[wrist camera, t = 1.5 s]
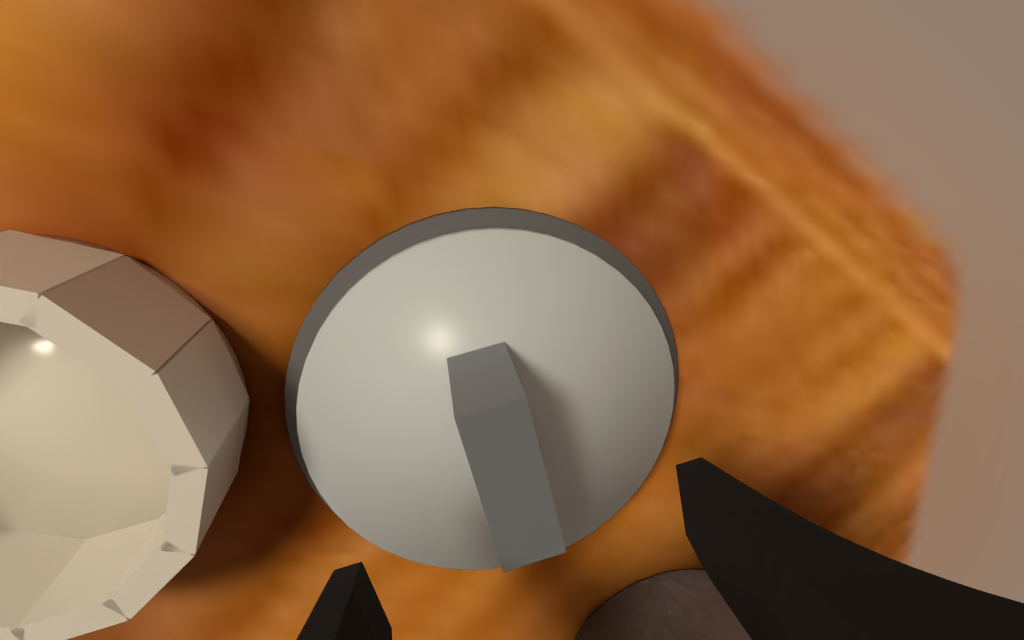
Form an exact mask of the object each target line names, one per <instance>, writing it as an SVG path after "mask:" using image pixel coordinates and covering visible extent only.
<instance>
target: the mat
mask: <svg viewBox="0 0 1024 640" xmlns="http://www.w3.org/2000/svg"><path fill="white" fill-rule="evenodd" d="M489 226H502V227H518V228H525V229H530V230H535V231H540V232H545V233H549V234H552V235H554V236H557V237H560V238H563V239H566V240H569V241H571V242H573V243H575V244H577V245H579V246H581V247H583V248H585V249H587V250H589V251H591V252H592V253H594V254H595V255H596V256H598V257H599V258H601V259H602V260H603V261H605V262H606V263H608V264H609V265H611V266H612V267H613V268H615V269H616V270H617V271H619V272H620V273H621V274H622V275H623V276H624V277H625V278H626V279H627V280H628V281H629V282H630V283H631V284H632V285H633V286H634V287H636V289H637V290H638V291H639V292H640V294H641V295H642V296H643V298H644V299H645V300H646V301H647V303H648V304H649V305H650V307H651V309H652V310H653V312H654V314H655V316H656V318H657V319H658V321H659V323H660V325H661V327H662V330H663V332H664V335H665V338H666V340H667V343H668V346H669V350H670V355H671V359H672V364H673V372H674V387H675V388H674V402H673V411H674V407H675V402H676V397H677V384H678V365H677V352H676V347H675V342H674V338H673V333H672V329H671V327H670V324H669V321H668V318H667V316H666V313H665V310H664V308H663V306H662V305H661V303H660V301H659V299H658V297H657V295H656V294H655V292H654V290H653V288H652V287H651V286H650V284H649V283H648V282H647V281H646V279H645V278H644V277H643V275H642V274H641V273H640V271H639V270H638V269H637V268H636V267H635V266H634V265H633V264H632V263H631V262H630V261H629V260H628V259H627V258H626V257H625V256H624V255H623V254H622V253H620V252H619V251H618V250H616V249H615V248H614V247H612V246H611V245H609V244H608V243H607V242H605V241H604V240H602V239H601V238H600V237H598V236H596V235H595V234H593V233H591V232H589V231H587V230H585V229H583V228H581V227H579V226H577V225H576V224H574V223H571V222H568V221H565V220H562V219H560V218H557V217H554V216H551V215H549V214H544V213H539V212H534V211H529V210H525V209H516V208H502V207H485V208H469V209H461V210H456V211H451V212H446V213H441V214H436V215H434V216H431V217H428V218H425V219H422V220H419V221H416V222H413V223H410V224H408V225H406V226H404V227H402V228H400V229H398V230H396V231H394V232H392V233H390V234H388V235H386V236H384V237H382V238H381V239H379V240H378V241H376V242H375V243H373V244H372V245H370V246H369V247H367V248H366V249H364V250H363V251H361V252H360V253H359V254H358V255H357V256H355V257H354V258H353V259H352V260H351V261H350V262H349V263H348V264H347V265H345V266H344V267H343V268H342V269H341V270H340V271H339V272H338V273H337V274H336V275H335V277H334V278H333V279H332V280H331V281H330V282H329V284H328V285H327V286H326V287H325V288H324V290H323V291H322V292H321V293H320V295H319V297H318V298H317V300H316V301H315V303H314V305H313V306H312V308H311V309H310V311H309V313H308V314H307V316H306V318H305V319H304V322H303V324H302V326H301V329H300V331H299V333H298V335H297V338H296V340H295V342H294V345H293V349H292V352H291V356H290V360H289V364H288V368H287V374H286V384H285V393H284V397H285V417H286V423H287V428H288V433H289V438H290V442H291V445H292V448H293V450H294V453H295V456H296V459H297V461H298V464H299V466H300V468H301V469H302V471H303V473H304V475H305V477H306V478H307V480H308V482H309V484H310V485H311V487H312V488H313V489H314V491H315V492H316V493H317V494H318V496H319V497H320V498H321V500H322V501H323V502H324V503H325V504H326V505H327V506H328V507H329V508H330V506H329V505H328V504H327V502H326V501H325V500H324V498H323V497H322V496H321V494H320V493H319V491H318V489H317V487H316V486H315V484H314V482H313V480H312V478H311V476H310V475H309V472H308V469H307V467H306V464H305V461H304V458H303V456H302V453H301V448H300V443H299V438H298V433H297V414H296V406H297V397H298V388H299V382H300V378H301V375H302V371H303V368H304V364H305V360H306V358H307V356H308V354H309V351H310V349H311V347H312V345H313V342H314V340H315V338H316V336H317V333H318V331H319V329H320V327H321V326H322V324H323V322H324V321H325V319H326V318H327V316H328V314H329V313H330V311H331V310H332V308H333V307H334V305H335V304H336V303H337V302H338V301H339V299H340V298H341V297H342V296H343V295H344V293H345V292H346V291H347V290H348V289H349V288H350V286H352V285H353V284H354V283H355V282H356V281H357V280H358V279H359V278H361V277H362V276H363V275H364V274H365V273H366V272H367V271H368V270H370V269H371V268H372V267H374V266H375V265H377V264H378V263H380V262H381V261H383V260H384V259H386V258H387V257H389V256H390V255H392V254H393V253H395V252H397V251H399V250H401V249H403V248H405V247H407V246H409V245H411V244H413V243H415V242H418V241H421V240H424V239H427V238H430V237H433V236H435V235H438V234H441V233H446V232H451V231H456V230H461V229H465V228H474V227H489ZM673 411H672V416H673ZM672 416H671V420H672ZM670 423H671V421H670ZM330 509H331V508H330ZM331 510H332V509H331ZM332 511H333V510H332ZM333 512H334V511H333ZM334 513H335V512H334ZM335 514H336V513H335ZM336 515H337V514H336ZM337 516H338V515H337ZM338 517H339V516H338ZM339 518H340V517H339ZM340 519H341V518H340ZM341 520H342V519H341ZM342 521H343V520H342Z"/></svg>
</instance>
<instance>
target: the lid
mask: <svg viewBox="0 0 1024 640" xmlns="http://www.w3.org/2000/svg"><path fill="white" fill-rule="evenodd" d="M674 388H675V387H674V372H673V364H672V359H671V355H670V350H669V346H668V343H667V340H666V338H665V335H664V332H663V330H662V327H661V325H660V323H659V321H658V319H657V318H656V316H655V314H654V312H653V310H652V309H651V307H650V305H649V304H648V303H647V301H646V300H645V299H644V298H643V296H642V295H641V294H640V292H639V291H638V290H637V289H636V287H634V286H633V285H632V284H631V283H630V282H629V281H628V280H627V279H626V278H625V277H624V276H623V275H622V274H621V273H620V272H619V271H617V270H616V269H615V268H613V267H612V266H611V265H609V264H608V263H606V262H605V261H603V260H602V259H601V258H599V257H598V256H596V255H595V254H594V253H592V252H591V251H589V250H587V249H585V248H583V247H581V246H579V245H577V244H575V243H573V242H571V241H569V240H566V239H563V238H560V237H557V236H554V235H552V234H549V233H545V232H540V231H535V230H530V229H525V228H518V227H502V226H489V227H474V228H465V229H461V230H456V231H451V232H446V233H441V234H438V235H435V236H433V237H430V238H427V239H424V240H421V241H418V242H415V243H413V244H411V245H409V246H407V247H405V248H403V249H401V250H399V251H397V252H395V253H393V254H392V255H390V256H389V257H387V258H386V259H384V260H383V261H381V262H380V263H378V264H377V265H375V266H374V267H372V268H371V269H370V270H368V271H367V272H366V273H365V274H364V275H363V276H362V277H361V278H359V279H358V280H357V281H356V282H355V283H354V284H353V285H352V286H350V288H349V289H348V290H347V291H346V292H345V293H344V295H343V296H342V297H341V298H340V299H339V301H338V302H337V303H336V304H335V305H334V307H333V308H332V310H331V311H330V313H329V314H328V316H327V318H326V319H325V321H324V322H323V324H322V326H321V327H320V329H319V331H318V333H317V336H316V338H315V340H314V342H313V345H312V347H311V349H310V351H309V354H308V356H307V358H306V360H305V364H304V368H303V371H302V375H301V378H300V382H299V388H298V397H297V406H296V414H297V433H298V438H299V443H300V448H301V453H302V456H303V458H304V461H305V464H306V467H307V469H308V472H309V475H310V476H311V478H312V480H313V482H314V484H315V486H316V487H317V489H318V491H319V493H320V494H321V496H322V497H323V498H324V500H325V501H326V502H327V504H328V505H329V506H330V508H331V509H332V510H333V511H334V512H335V513H336V514H337V515H338V516H339V517H340V518H341V519H342V520H343V521H344V522H345V523H346V524H347V525H348V526H349V527H350V528H351V529H353V530H354V531H355V532H357V533H358V534H359V535H361V536H362V537H363V538H365V539H366V540H368V541H369V542H371V543H373V544H375V545H376V546H378V547H380V548H382V549H384V550H385V551H388V552H390V553H392V554H395V555H397V556H400V557H402V558H405V559H408V560H411V561H415V562H418V563H422V564H425V565H430V566H436V567H442V568H449V569H467V570H475V569H493V568H500V567H502V569H503V572H506V571H509V570H512V569H515V568H518V567H522V566H525V565H528V564H531V563H534V562H537V561H540V560H544V559H547V558H550V557H553V556H556V555H559V554H563V553H566V552H567V551H566V547H568V546H570V545H572V544H574V543H576V542H577V541H579V540H581V539H582V538H584V537H585V536H587V535H589V534H590V533H592V532H593V531H595V530H596V529H597V528H599V527H600V526H601V525H603V524H604V523H605V522H606V521H608V520H609V519H610V518H612V517H613V516H614V515H615V514H616V513H617V512H618V511H619V510H620V509H621V508H622V507H623V506H624V505H625V504H626V503H627V502H628V501H629V500H630V498H631V497H632V496H633V495H634V494H635V492H636V491H637V490H638V489H639V488H640V486H641V485H642V483H643V482H644V480H645V479H646V477H647V476H648V474H649V473H650V471H651V470H652V468H653V466H654V464H655V462H656V460H657V458H658V456H659V454H660V452H661V450H662V447H663V444H664V441H665V439H666V436H667V433H668V430H669V426H670V421H671V416H672V411H673V402H674Z"/></svg>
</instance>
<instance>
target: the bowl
mask: <svg viewBox="0 0 1024 640" xmlns="http://www.w3.org/2000/svg"><path fill="white" fill-rule="evenodd" d="M248 399H249V396H248V393H247V388H246V384H245V380H244V375H243V372H242V370H241V367H240V364H239V362H238V359H237V357H236V354H235V353H234V351H233V349H232V347H231V345H230V344H229V342H228V340H227V338H226V336H225V335H224V334H223V332H222V331H221V330H220V328H219V327H218V325H217V324H216V323H215V321H214V320H213V319H212V317H211V316H210V315H209V314H208V313H207V312H206V311H205V310H204V309H203V308H202V307H201V306H200V305H199V304H198V303H197V302H196V301H195V300H194V299H193V298H192V297H191V296H190V295H188V294H187V293H186V292H185V291H184V290H182V289H181V288H180V287H179V286H178V285H176V284H175V283H174V282H172V281H171V280H169V279H168V278H166V277H165V276H163V275H162V274H160V273H159V272H157V271H156V270H154V269H152V268H150V267H148V266H146V265H144V264H142V263H141V262H139V261H137V260H135V259H133V258H131V257H129V256H126V255H123V254H121V253H118V252H116V251H113V250H111V249H108V248H106V247H103V246H99V245H95V244H92V243H88V242H84V241H81V240H77V239H71V238H65V237H59V236H53V235H41V234H27V233H23V232H18V231H14V230H9V231H8V230H5V231H2V232H0V640H66V639H69V638H73V637H76V636H79V635H82V634H86V633H89V632H92V631H95V630H99V629H102V628H105V627H108V626H112V625H115V624H118V623H121V622H125V621H128V620H129V619H131V618H132V617H133V616H134V615H135V614H136V613H137V612H138V611H139V610H140V609H141V608H142V607H143V606H144V605H145V604H146V603H147V602H148V601H149V600H150V599H151V598H152V597H153V596H154V595H155V594H156V593H157V592H158V591H160V590H161V589H162V588H163V587H164V586H165V585H166V584H167V583H168V582H169V581H170V580H171V579H172V578H173V577H174V576H175V575H176V574H177V573H178V572H179V571H180V570H181V569H182V568H183V567H184V566H185V565H186V564H187V563H188V562H189V561H190V560H191V559H192V558H193V557H194V556H195V554H196V552H197V550H198V548H199V546H200V544H201V542H202V540H203V538H204V536H205V534H206V532H207V530H208V529H209V527H210V525H211V523H212V521H213V519H214V517H215V515H216V513H217V511H218V509H219V507H220V505H221V503H222V501H223V499H224V497H225V495H226V493H227V491H228V490H229V488H230V486H231V484H232V482H233V480H234V478H235V476H236V474H237V472H238V467H239V461H240V455H241V450H242V448H243V445H244V441H245V437H246V433H247V428H248V416H249V401H250V400H248Z"/></svg>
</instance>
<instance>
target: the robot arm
mask: <svg viewBox="0 0 1024 640" xmlns="http://www.w3.org/2000/svg"><path fill="white" fill-rule="evenodd" d="M676 470H677V477H678V484H679V490H680V497H681V504H682V510H683V517H684V524H685V531H686V535H687V537H688V539H689V541H690V543H691V545H692V547H693V549H694V551H695V553H696V555H697V556H698V558H699V560H700V562H701V564H702V566H703V567H704V569H705V571H706V573H707V575H708V577H709V578H710V580H711V581H712V583H713V584H714V586H715V587H716V588H717V590H718V591H719V593H720V594H721V596H722V597H723V599H724V600H725V602H726V603H727V605H728V606H729V607H730V609H731V610H732V612H733V613H734V615H735V616H736V618H737V619H738V620H739V622H740V623H741V625H742V626H743V628H744V629H745V631H746V632H747V633H748V635H749V636H750V638H751V639H752V640H1024V603H1021V602H1017V601H1014V600H1010V599H1007V598H1004V597H1000V596H996V595H993V594H990V593H987V592H983V591H980V590H977V589H974V588H971V587H967V586H964V585H962V584H958V583H955V582H952V581H950V580H946V579H944V578H941V577H938V576H936V575H933V574H930V573H927V572H925V571H922V570H919V569H916V568H913V567H911V566H908V565H906V564H903V563H901V562H898V561H895V560H893V559H890V558H888V557H886V556H883V555H881V554H879V553H876V552H874V551H872V550H869V549H867V548H865V547H862V546H860V545H858V544H855V543H853V542H851V541H849V540H847V539H844V538H842V537H840V536H838V535H836V534H834V533H832V532H830V531H828V530H826V529H824V528H822V527H820V526H818V525H816V524H814V523H812V522H810V521H808V520H806V519H804V518H802V517H801V516H799V515H797V514H795V513H793V512H791V511H790V510H788V509H786V508H784V507H783V506H781V505H779V504H777V503H776V502H774V501H772V500H770V499H769V498H767V497H765V496H763V495H762V494H760V493H758V492H757V491H755V490H753V489H752V488H750V487H749V486H747V485H745V484H744V483H742V482H740V481H739V480H737V479H735V478H734V477H732V476H731V475H729V474H727V473H726V472H724V471H723V470H721V469H719V468H718V467H716V466H715V465H713V464H711V463H710V462H708V461H706V460H705V459H703V458H698V459H695V460H691V461H688V462H685V463H682V464H678V465H676ZM296 640H392V628H391V626H390V623H389V621H388V619H387V617H386V615H385V612H384V610H383V608H382V606H381V603H380V601H379V599H378V597H377V594H376V592H375V590H374V588H373V585H372V583H371V581H370V579H369V576H368V574H367V572H366V570H365V567H364V565H363V563H362V562H359V563H356V564H353V565H349V566H346V567H343V568H340V569H336V570H334V572H333V573H332V575H331V577H330V578H329V580H328V582H327V584H326V586H325V588H324V589H323V591H322V593H321V595H320V597H319V599H318V601H317V603H316V604H315V606H314V608H313V610H312V612H311V614H310V616H309V618H308V619H307V621H306V623H305V625H304V627H303V629H302V630H301V632H300V634H299V636H298V638H297V639H296Z"/></svg>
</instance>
